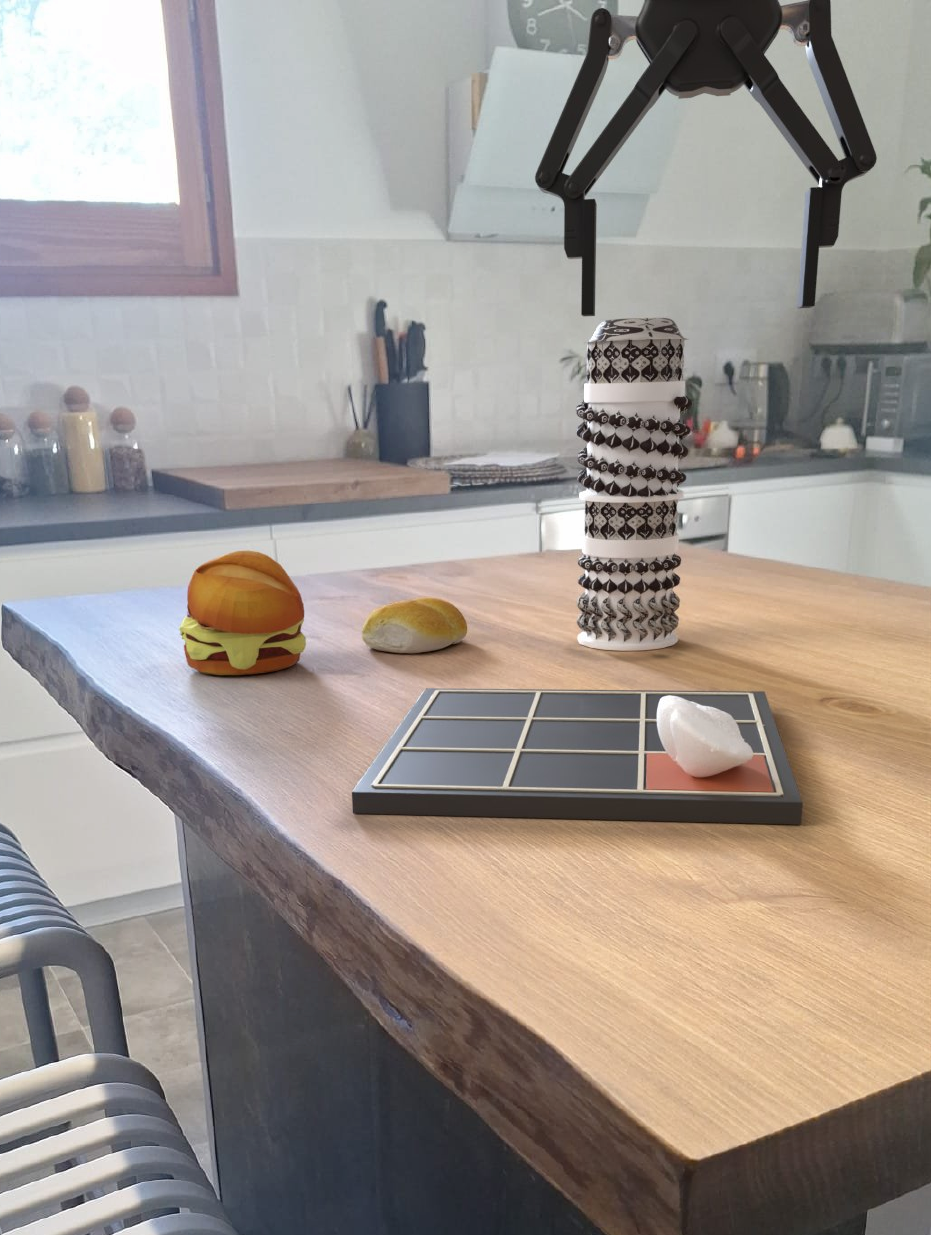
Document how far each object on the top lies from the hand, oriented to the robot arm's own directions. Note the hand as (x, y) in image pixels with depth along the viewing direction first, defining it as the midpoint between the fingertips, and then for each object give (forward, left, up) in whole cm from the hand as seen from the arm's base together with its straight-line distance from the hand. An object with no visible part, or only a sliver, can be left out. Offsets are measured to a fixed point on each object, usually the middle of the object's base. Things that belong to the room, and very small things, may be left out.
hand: (695, 312), depth 78 cm
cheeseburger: (+34, -7, -25) cm, 43 cm away
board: (+6, +16, -25) cm, 30 cm away
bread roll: (+22, -16, -25) cm, 37 cm away
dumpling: (-1, +23, -24) cm, 33 cm away
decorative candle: (+4, -18, -25) cm, 31 cm away
